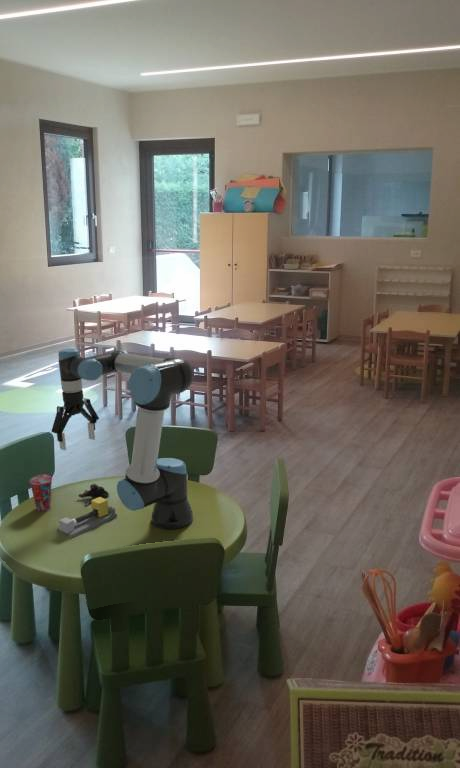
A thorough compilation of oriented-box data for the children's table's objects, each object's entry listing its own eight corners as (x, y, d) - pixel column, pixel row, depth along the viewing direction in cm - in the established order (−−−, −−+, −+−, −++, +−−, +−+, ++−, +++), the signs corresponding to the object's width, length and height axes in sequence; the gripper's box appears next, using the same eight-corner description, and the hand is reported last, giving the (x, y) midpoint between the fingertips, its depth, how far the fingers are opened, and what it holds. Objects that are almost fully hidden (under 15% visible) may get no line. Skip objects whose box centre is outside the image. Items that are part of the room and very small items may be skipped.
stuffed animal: (106, 485, 281) (108, 479, 270) (109, 509, 278) (111, 504, 267) (76, 489, 278) (77, 483, 267) (79, 513, 275) (80, 508, 264)
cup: (58, 509, 263) (55, 480, 260) (36, 515, 259) (33, 485, 255) (49, 500, 271) (46, 472, 268) (28, 506, 266) (25, 477, 263)
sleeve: (100, 510, 258) (99, 496, 257) (108, 513, 255) (107, 500, 254) (92, 514, 255) (91, 500, 254) (99, 517, 252) (98, 503, 251)
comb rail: (103, 510, 262) (102, 498, 260) (117, 516, 256) (116, 504, 255) (57, 531, 246) (55, 518, 245) (70, 538, 241) (69, 525, 240)
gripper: (92, 381, 268) (97, 433, 274) (37, 396, 250) (44, 451, 256) (104, 384, 264) (109, 436, 269) (50, 399, 245) (56, 455, 251)
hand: (77, 444), depth 262 cm, fingers open, 13 cm apart
